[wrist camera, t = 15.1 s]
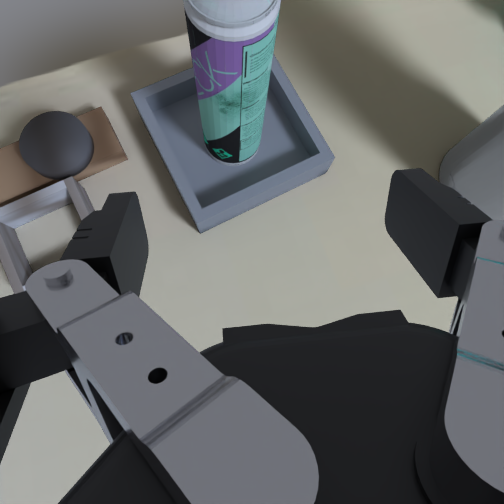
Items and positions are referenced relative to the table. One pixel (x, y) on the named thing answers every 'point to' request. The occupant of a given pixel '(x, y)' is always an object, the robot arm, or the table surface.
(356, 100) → the table surface
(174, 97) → the tray
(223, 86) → the spray can
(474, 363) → the robot arm
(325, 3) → the table surface
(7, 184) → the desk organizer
